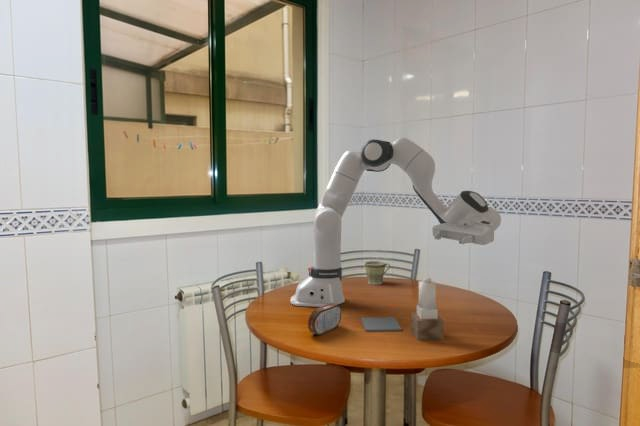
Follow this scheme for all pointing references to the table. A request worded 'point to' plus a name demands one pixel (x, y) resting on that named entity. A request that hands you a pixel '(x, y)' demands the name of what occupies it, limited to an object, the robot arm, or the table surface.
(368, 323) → the mat
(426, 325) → the post plinth
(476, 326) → the table surface
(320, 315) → the tin
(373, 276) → the ceramic cup
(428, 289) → the white tapered tower
